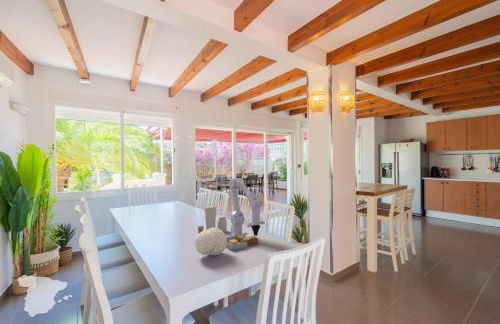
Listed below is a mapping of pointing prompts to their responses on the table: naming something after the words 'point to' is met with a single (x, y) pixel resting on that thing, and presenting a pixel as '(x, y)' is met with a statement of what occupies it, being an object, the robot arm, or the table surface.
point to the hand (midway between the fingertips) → (255, 235)
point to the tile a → (233, 242)
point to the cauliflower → (211, 241)
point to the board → (242, 239)
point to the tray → (236, 246)
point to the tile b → (249, 236)
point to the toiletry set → (213, 220)
